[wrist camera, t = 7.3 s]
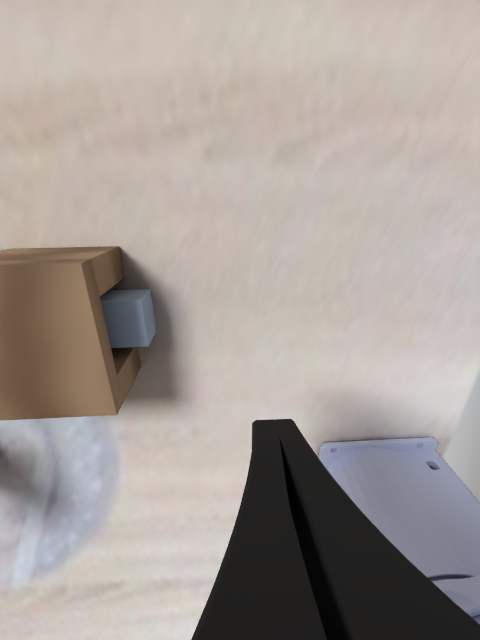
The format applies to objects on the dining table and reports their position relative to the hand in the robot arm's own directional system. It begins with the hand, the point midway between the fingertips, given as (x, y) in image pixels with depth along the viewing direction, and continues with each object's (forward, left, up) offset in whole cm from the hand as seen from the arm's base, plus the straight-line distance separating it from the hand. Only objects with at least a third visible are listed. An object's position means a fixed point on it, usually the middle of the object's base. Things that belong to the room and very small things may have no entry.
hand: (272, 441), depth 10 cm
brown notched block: (+10, -1, -9) cm, 14 cm away
